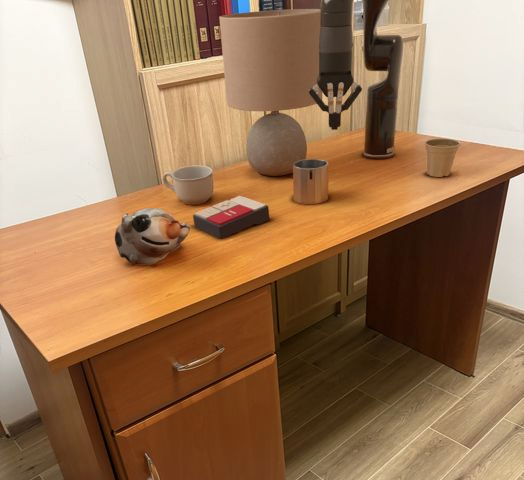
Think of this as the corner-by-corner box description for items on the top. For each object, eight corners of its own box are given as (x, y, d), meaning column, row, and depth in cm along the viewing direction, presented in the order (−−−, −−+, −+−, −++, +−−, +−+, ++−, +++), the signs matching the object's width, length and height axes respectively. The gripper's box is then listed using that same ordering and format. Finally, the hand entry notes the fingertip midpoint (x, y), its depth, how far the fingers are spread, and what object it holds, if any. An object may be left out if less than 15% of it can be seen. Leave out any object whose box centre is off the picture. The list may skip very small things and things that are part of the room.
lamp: (325, 158, 172) (326, 7, 148) (317, 185, 150) (318, 13, 127) (243, 159, 176) (232, 12, 153) (224, 185, 155) (208, 19, 131)
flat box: (191, 212, 128) (240, 192, 135) (194, 229, 130) (242, 209, 137) (219, 223, 121) (268, 202, 128) (221, 241, 123) (270, 219, 130)
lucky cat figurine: (183, 238, 124) (193, 192, 113) (181, 279, 117) (192, 234, 106) (116, 227, 120) (120, 179, 109) (110, 268, 114) (114, 221, 102)
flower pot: (452, 168, 156) (456, 137, 151) (458, 178, 148) (463, 146, 143) (419, 169, 157) (422, 138, 152) (423, 179, 149) (427, 147, 144)
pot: (327, 156, 141) (293, 157, 142) (329, 169, 132) (292, 171, 132) (326, 190, 146) (293, 191, 147) (328, 205, 137) (293, 206, 137)
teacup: (222, 196, 147) (219, 166, 143) (202, 209, 139) (199, 178, 135) (179, 191, 152) (175, 163, 148) (158, 204, 144) (153, 174, 140)
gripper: (363, 45, 125) (360, 124, 134) (306, 48, 125) (307, 126, 135) (367, 48, 118) (363, 131, 128) (306, 52, 119) (307, 134, 129)
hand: (334, 129), depth 132 cm, fingers closed
